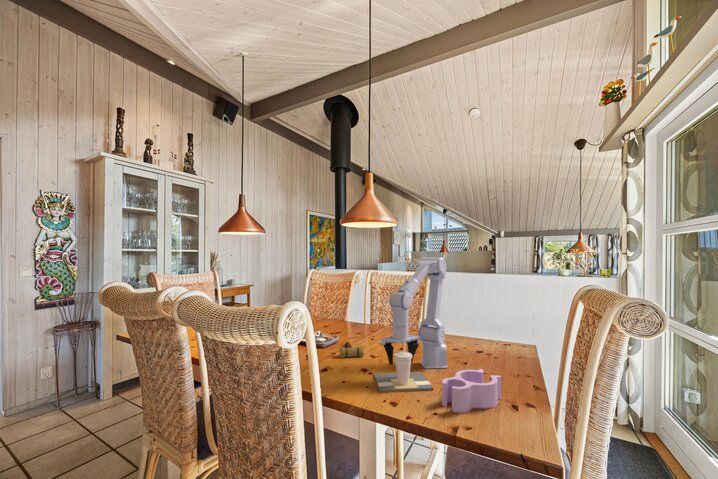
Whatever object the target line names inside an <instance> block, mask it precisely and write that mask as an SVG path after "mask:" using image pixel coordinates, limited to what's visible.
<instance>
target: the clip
mask: <svg viewBox="0 0 718 479" xmlns="http://www.w3.org/2000/svg"><path fill="white" fill-rule="evenodd" d="M489 380H490V381H489V382H485V381H484V369H482V368H479V369H477V370H476V369H463V370H459V371H457V372H456V373H455V375H454V376H453V377H452V376H451V377H446V378H443V379H442V380H441V404H442V406H443V407H447V406H448V403H451V412H454V413H460V414H461V413H464V414H465V413H468V412H470V411H471V410H472V409H492V408H495V407H496V406H498V404H499V400H501V399H502V376H501V375H496V374H495V375H494V374H492V375H490V376H489Z"/></svg>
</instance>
